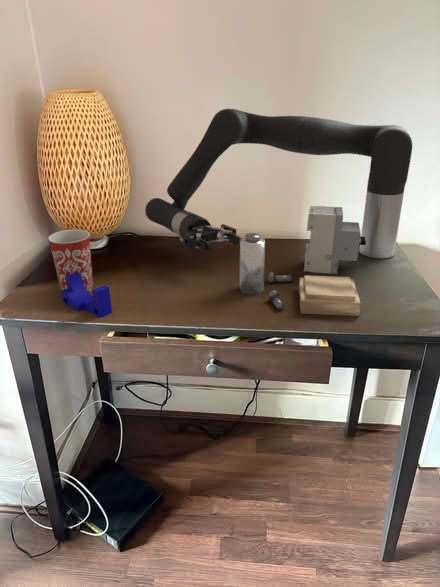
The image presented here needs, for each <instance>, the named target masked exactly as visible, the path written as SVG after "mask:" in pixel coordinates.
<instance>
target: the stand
mask: <svg viewBox="0 0 440 587" xmlns="http://www.w3.org/2000/svg"><path fill="white" fill-rule="evenodd" d="M298 283H299V285H298V293H299V294H298V295H299V296H298V298H299V309H300V314H306V315H326V316H327V315H328V316H329V315H330V316H350V317H360V313H361V305H362V303H361V300H360V296H359V293H358V290H357V287H356V284H355V281H354V279H351V277H350V276H330V275H329V276H326V275H304V276H303V277H299V282H298Z"/></svg>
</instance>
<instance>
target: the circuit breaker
mask: <svg viewBox="0 0 440 587" xmlns="http://www.w3.org/2000/svg"><path fill="white" fill-rule="evenodd" d="M343 220H344V212H343V206H342V207H341V206H325V205H319V206H318V205H310V206H309V211H308V216H307V225H306V226H307V227H306V231H307V232H310V238H309V243H307V244H306V245H305V252H304V254H305V255H304V267H303V272H304V273H305V272H309V273H316V274H317V273H319V274H320V273H321V274H330V275H331V274H332V275H337V274H338V268H339V261H346V262H347V261H348V262H349V261H351V262H358V255H359V250H360V245H366V240H365V237H361V234H362V232H361V227H360V223H359V222H354V221H343Z"/></svg>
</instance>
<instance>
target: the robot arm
mask: <svg viewBox="0 0 440 587" xmlns="http://www.w3.org/2000/svg"><path fill="white" fill-rule="evenodd" d="M239 144H240V145H241V144H253V145H254V144H255V145H256V144H258V145H266V146H269V147H273V148H277V149H279V150H281V151H286V152H291V153H296V154H297V153H298V154H304V155H312V156H332V155H342V154H343V155H345V154H347V155H359V156H365V157H370V165H369V166H370V167H369V173H368V179H367V185H366V186H367V187H366V195H365V204H364V212H363V220H362V227H361V237H365V240H366V245H360V247H359V249H358V253H360V254H361V255H362V256H364V257H365V256H366V257H368V258H372V259H388V258H392V257H393V256H394V255H395V252H396V250H395V249H396V243H397V237H398V232H399V225H400V219H401V212H402V208H403V200H404V195H405V187H406V184H407V180H408V175H409V171H410V166H411V160H412V153H413V140H412V137H411V136H410V134H409V132H408V131H407V130H406V129H405V128H404V127H402V126H400V125H396V124H389V125H388V124H387V125H385V124H383V125H379V124H378V125H376V124H375V125H373V124H370V125H369V124H368V125H367V124H365V125H364V124H363V125H362V124H354V123H348V122H343V121H339V120H334V119H327V118H322V117H315V116H314V117H313V116H304V115H275V116H270V115H269V116H267V115H261V114H255V113H251V112H246V111H243V110H240V109H235V108H223V109H221V110H219V111H217V112H216V113H215V115H214V116H213V117H212V119H211V121H210V123H209V126H208V127H207V129H206V131H205V133H204V135H203V137H202V138H201V140H200V142H199V143H198V145H197V147H196V148H195V150H194V152H193V153H192V154H191V156H190V157H189V158H188V160H187V161H186V162H185V164H184V165H183V166H182V168H181V169H180V170H179V171H178V173H177V174H176V175H175V177H174V178H173V179H172V181H171V182H170V183H169V185H168V187H167V189H166V192H167V194H168V196H169V198H171V199H172V200H173V202H172V203H170V202H169V201H167V200H164V199H162V198H160V197H154V198H152V199H150V200H149V201H148V202H147V203H146V205H145V211H144V212H145V213H144V214H145V216H146V218H147V219H148V220H149V221H151V222H153V223H155V224H157V225H160V226H162V227H164V228H166V229H167V230H169V231H171V232H172V233H174V234H176V235H177V236H178V237H179V243H180V244H181V245H182V246H184V247H185V248H187V249H190V250H193V249H194V248H196V249H201V250H202V251H205V252H207V253H208V252H210V251H211V243H212V242H219V243H222V242H224V241H227V242H228V243H231V244H233V245H235V246H237V245H240V239H241V238H240V236H239V235H237V228H235V227H232V226H229V225H227V224H220V227H218V226H217V227H216V226H214V225H211V223H210V222H209V220H208V219H206V218H205V217H203V216H201V215H198V214H196V213H194V212H192V211H187V210H185V208H186V207H187V204H188V202H189V201H190V200H191V198H192V197H193V195H194V194H195V192H196V191H197V190H198V189H199V188H200V187H201V185H202V183H203V182H204V180H205V179H206V176H207V175H208V173H209V172H210V170H211V168H212V167H213V166H214V163H216V161H217V160H218V159H219V158H220V157H221V155H222V154H224V153H225V152H226V150H228V149H229V148H230V147H231V146H232V145H239ZM218 235H219V236H218ZM210 242H211V243H210Z"/></svg>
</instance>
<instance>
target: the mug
mask: <svg viewBox="0 0 440 587" xmlns="http://www.w3.org/2000/svg"><path fill="white" fill-rule="evenodd" d="M90 237H91V233H90V232H89V231H87V230H84V229H65V230H59V231H56V232H53V233H51V234H50V235H49V236H47V241H48V243H49V245H50V250H51V254H52V258H53V264H54V266H55V271H56V275H57V279H58V284H59V289H60V293H61V294H62V292H61V291H62V290H65V289H67V283H66V277H65V276H67V275H70V274H73V273H80V274H81V276H82V280H83V283H84V285H85V287H86V289H87V291H88V292H89V293H90V294H91V292H93V289H94V284H93V283H94V281H93V268H92V266H93V265H92V255H91V253H92V252H91V240H90Z"/></svg>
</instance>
